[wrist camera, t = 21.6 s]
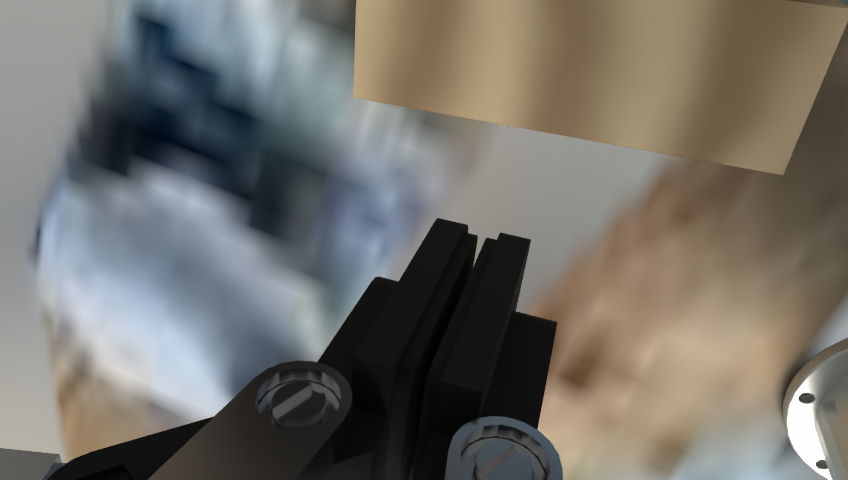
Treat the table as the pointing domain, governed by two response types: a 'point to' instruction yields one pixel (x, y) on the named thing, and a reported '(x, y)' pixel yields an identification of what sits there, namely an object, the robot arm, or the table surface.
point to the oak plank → (610, 69)
